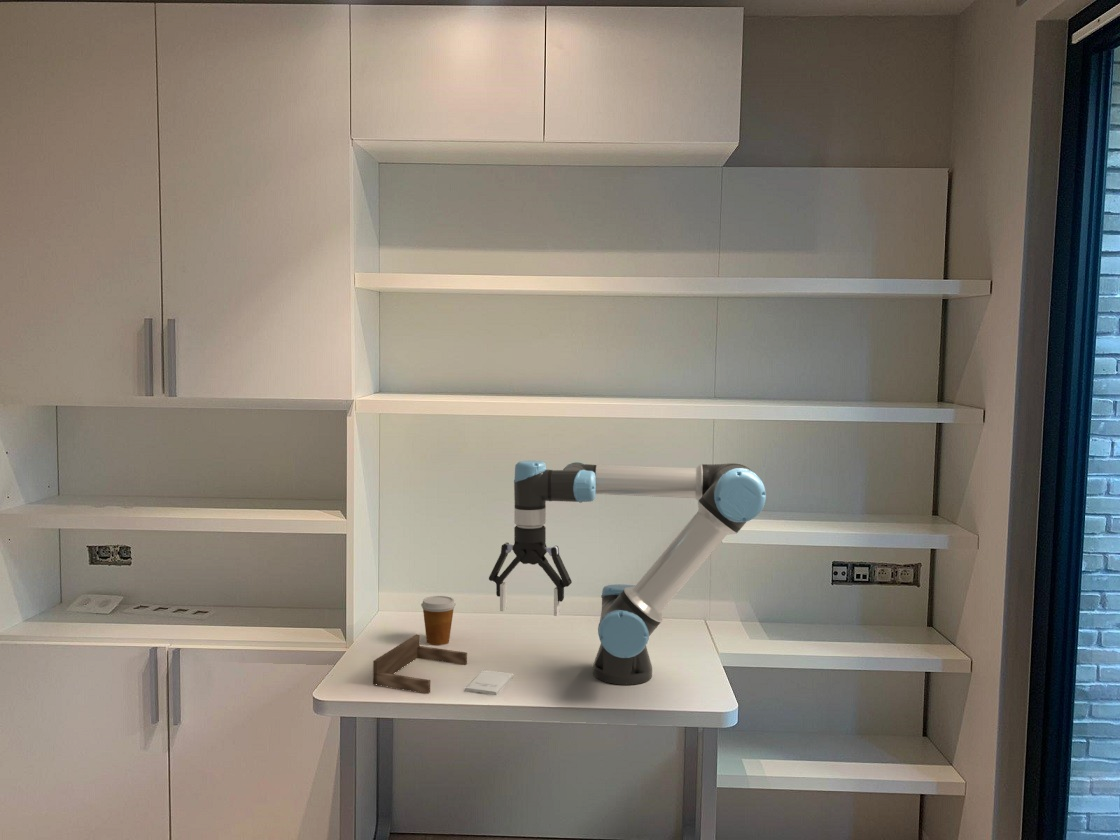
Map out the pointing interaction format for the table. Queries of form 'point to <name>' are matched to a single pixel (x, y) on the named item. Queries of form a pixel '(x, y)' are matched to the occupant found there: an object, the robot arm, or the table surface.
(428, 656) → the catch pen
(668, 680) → the table surface
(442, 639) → the disposable coffee cup
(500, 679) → the external hard drive
